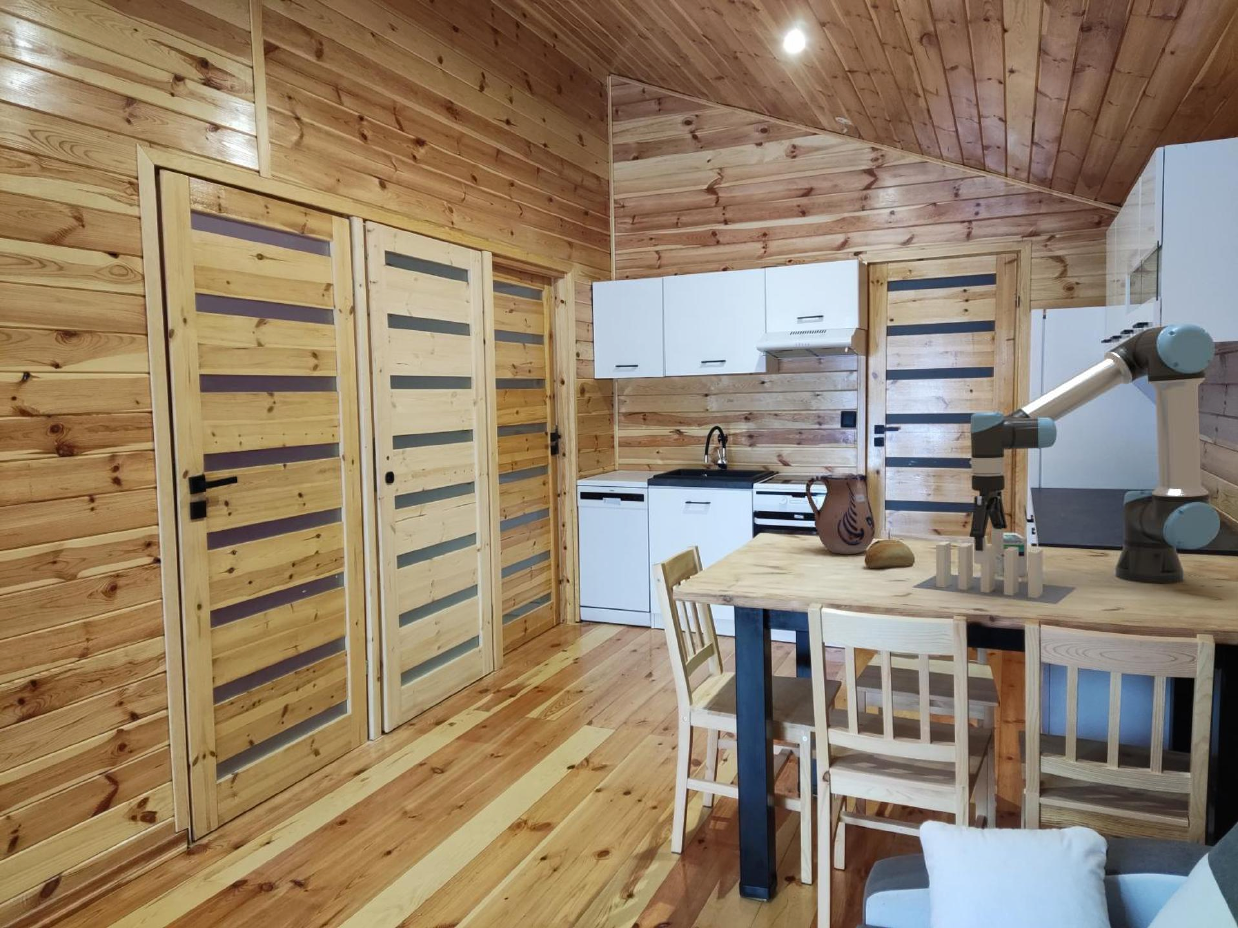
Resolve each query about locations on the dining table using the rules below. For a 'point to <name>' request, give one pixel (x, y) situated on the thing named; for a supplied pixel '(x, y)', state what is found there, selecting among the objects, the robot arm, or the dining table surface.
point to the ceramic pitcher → (843, 513)
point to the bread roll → (889, 554)
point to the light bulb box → (1020, 543)
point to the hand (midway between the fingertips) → (989, 558)
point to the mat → (1001, 590)
